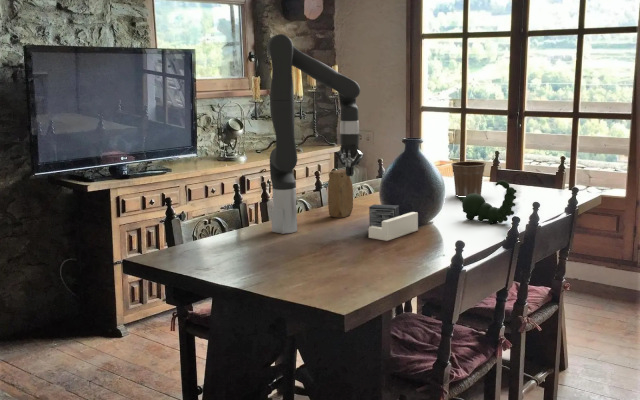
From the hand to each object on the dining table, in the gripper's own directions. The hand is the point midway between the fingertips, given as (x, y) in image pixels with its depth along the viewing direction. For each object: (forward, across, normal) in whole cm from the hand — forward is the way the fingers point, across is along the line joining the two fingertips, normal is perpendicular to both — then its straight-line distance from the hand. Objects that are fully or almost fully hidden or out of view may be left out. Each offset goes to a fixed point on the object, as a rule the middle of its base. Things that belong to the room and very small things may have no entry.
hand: (349, 176), depth 273 cm
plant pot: (+20, +6, +85) cm, 88 cm away
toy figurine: (+20, +39, +39) cm, 59 cm away
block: (+21, -16, +14) cm, 30 cm away
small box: (+21, +17, 0) cm, 27 cm away
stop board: (+20, +21, 0) cm, 29 cm away
